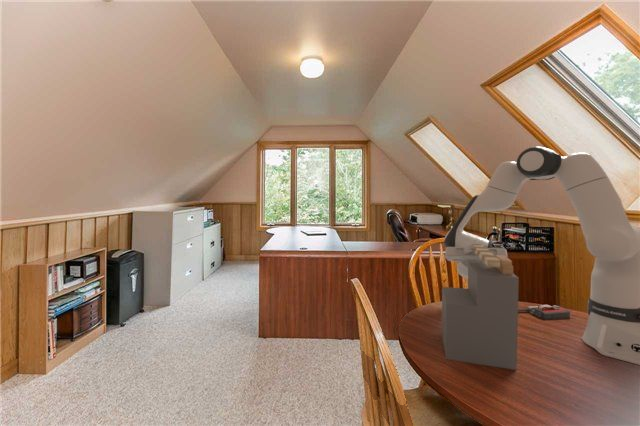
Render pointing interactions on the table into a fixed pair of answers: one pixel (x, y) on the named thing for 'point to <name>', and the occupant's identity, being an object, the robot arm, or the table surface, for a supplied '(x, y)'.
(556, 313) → the walkie-talkie
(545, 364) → the table surface
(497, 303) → the grey stepped block
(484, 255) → the birch strip
